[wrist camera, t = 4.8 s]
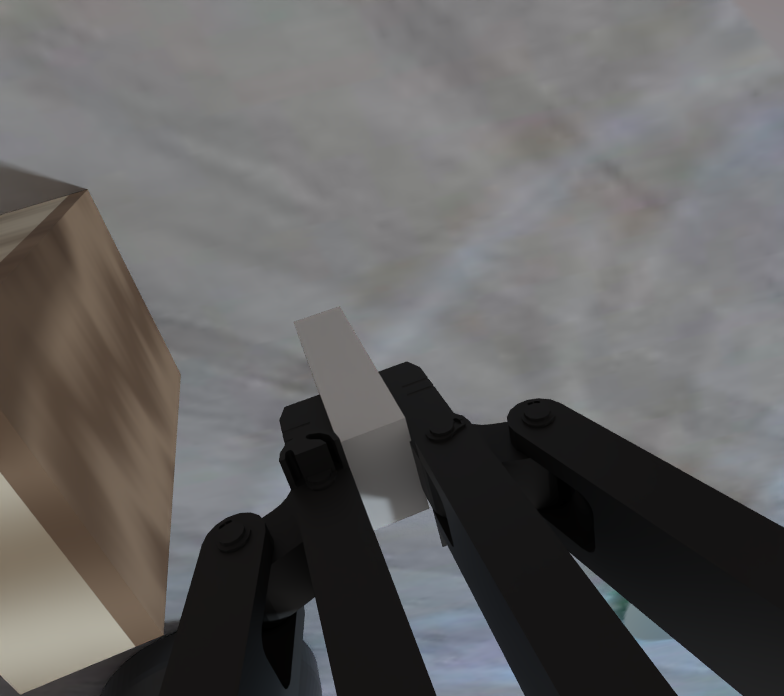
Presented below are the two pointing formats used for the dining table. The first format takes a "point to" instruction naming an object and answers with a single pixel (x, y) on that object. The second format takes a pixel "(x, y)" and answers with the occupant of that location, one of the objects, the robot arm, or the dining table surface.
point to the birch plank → (79, 447)
